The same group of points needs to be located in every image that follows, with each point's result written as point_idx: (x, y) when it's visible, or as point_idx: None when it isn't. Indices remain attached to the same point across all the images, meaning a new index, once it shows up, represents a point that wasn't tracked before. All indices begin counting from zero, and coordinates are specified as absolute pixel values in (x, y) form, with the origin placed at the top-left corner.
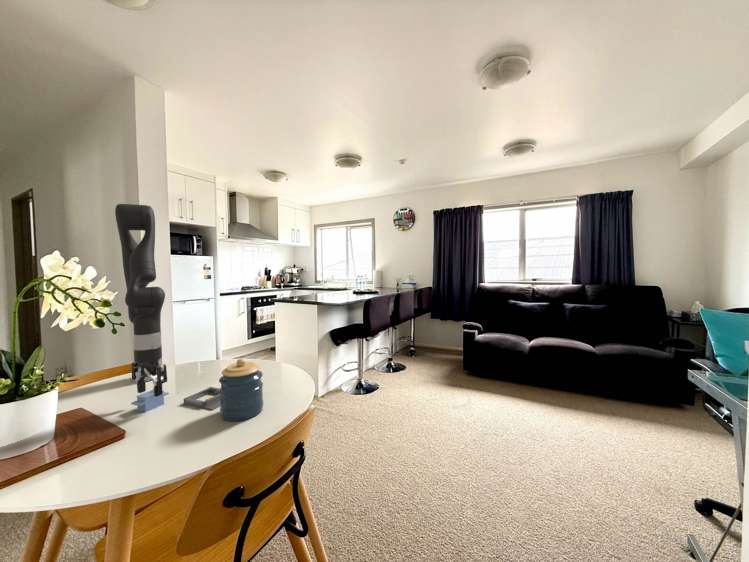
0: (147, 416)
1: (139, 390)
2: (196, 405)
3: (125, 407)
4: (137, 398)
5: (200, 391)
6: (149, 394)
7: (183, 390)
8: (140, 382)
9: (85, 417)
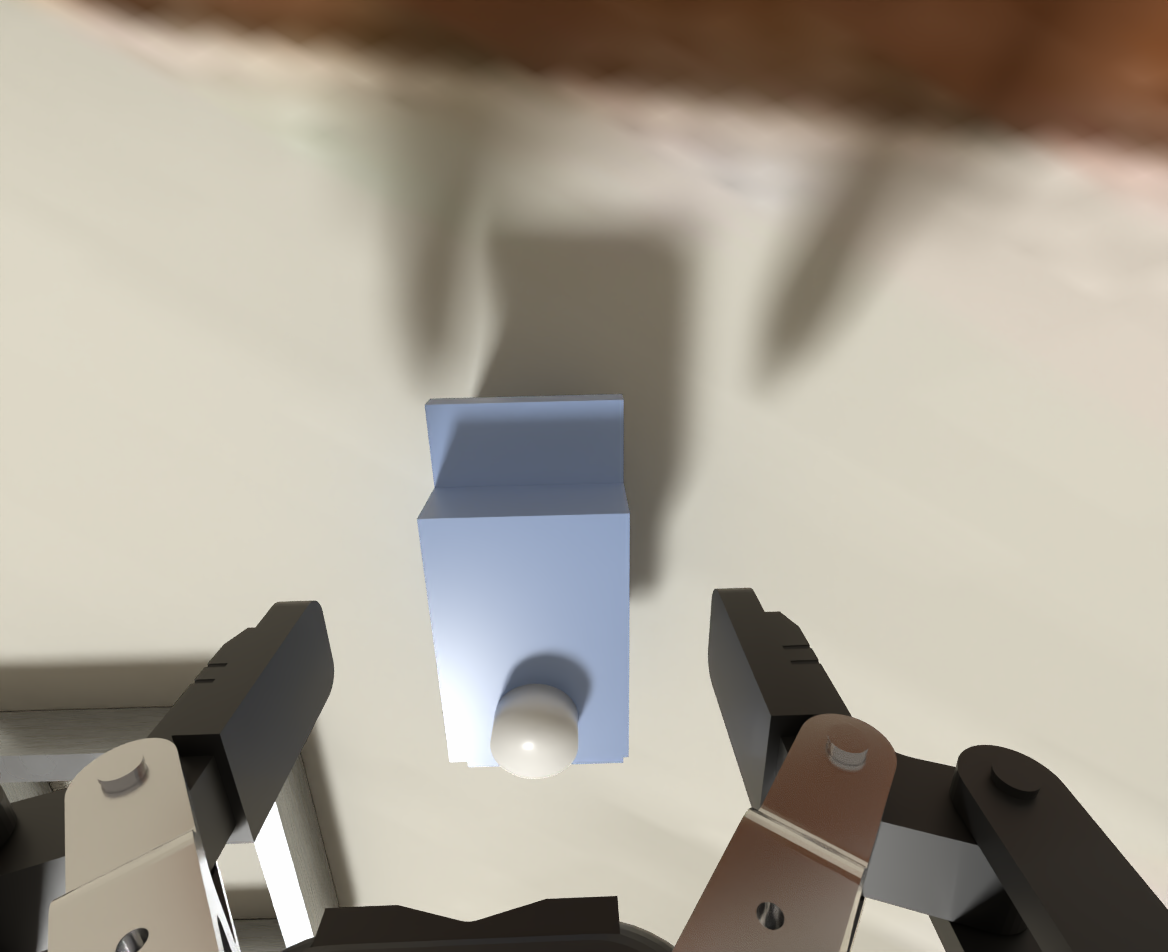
0: (314, 379)
1: (722, 618)
2: (80, 719)
3: (845, 423)
4: (615, 494)
5: (298, 902)
6: (485, 612)
7: (635, 872)
8: (762, 744)
9: (1108, 18)
